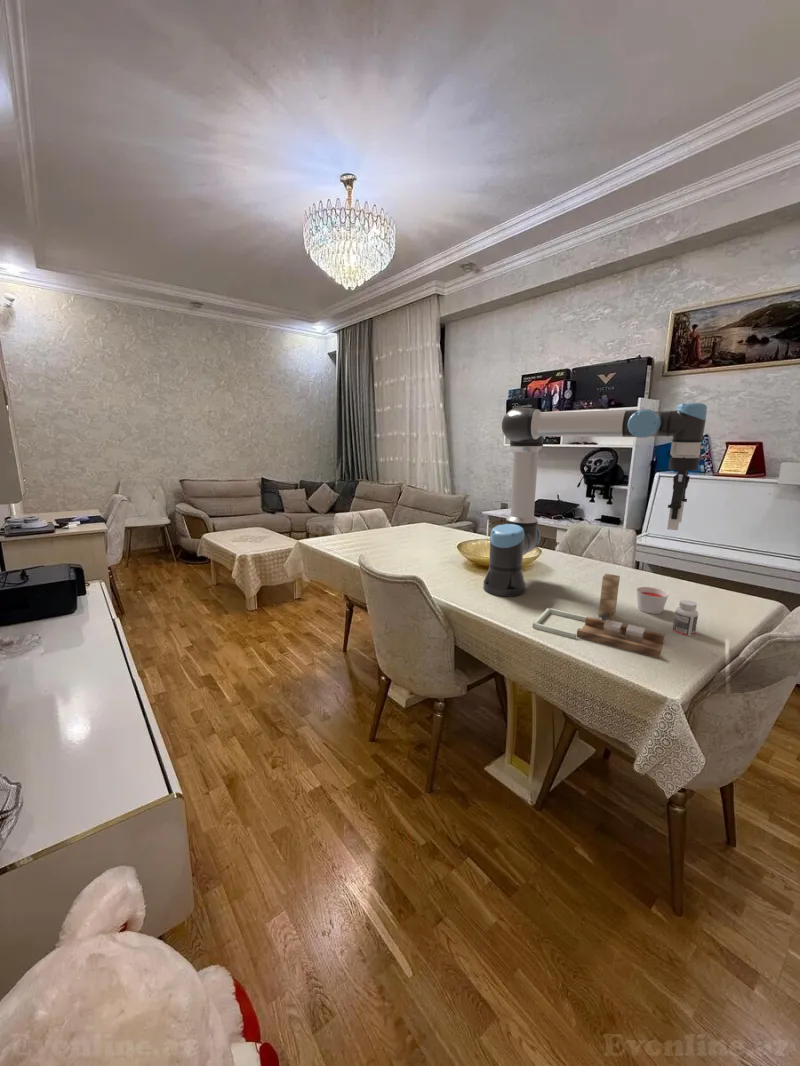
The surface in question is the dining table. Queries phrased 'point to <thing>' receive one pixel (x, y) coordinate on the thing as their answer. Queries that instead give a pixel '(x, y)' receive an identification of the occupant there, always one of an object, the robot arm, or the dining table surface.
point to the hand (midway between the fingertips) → (674, 525)
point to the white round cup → (651, 599)
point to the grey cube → (612, 628)
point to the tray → (555, 630)
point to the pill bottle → (685, 618)
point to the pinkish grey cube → (635, 634)
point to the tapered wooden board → (608, 596)
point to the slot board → (622, 638)
